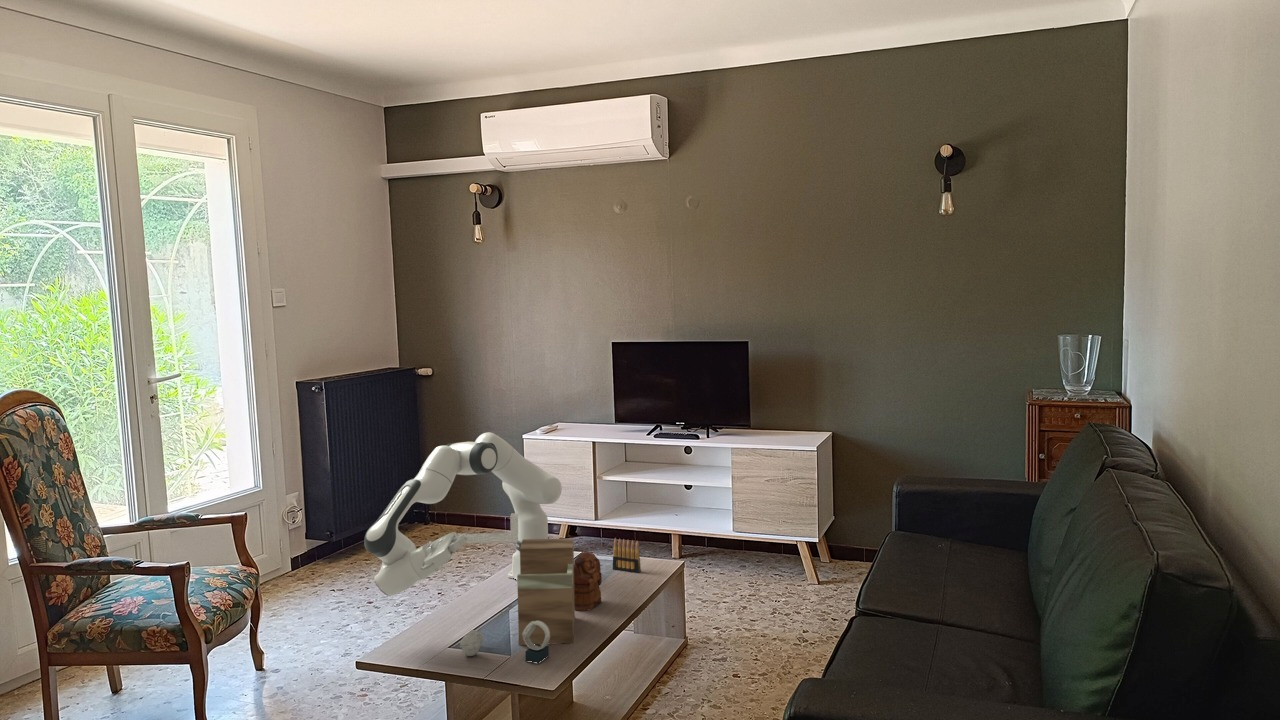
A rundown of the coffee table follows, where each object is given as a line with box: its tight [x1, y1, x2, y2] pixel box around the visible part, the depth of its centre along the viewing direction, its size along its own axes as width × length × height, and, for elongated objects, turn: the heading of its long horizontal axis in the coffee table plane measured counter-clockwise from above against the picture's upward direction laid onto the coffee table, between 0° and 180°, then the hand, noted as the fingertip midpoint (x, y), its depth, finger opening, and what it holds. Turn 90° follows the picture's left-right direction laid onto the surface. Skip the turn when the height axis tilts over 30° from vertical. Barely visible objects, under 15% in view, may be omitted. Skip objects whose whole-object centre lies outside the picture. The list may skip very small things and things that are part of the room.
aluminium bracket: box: [456, 512, 518, 544], centre depth 262 cm, size 3×18×8 cm, turn 93°
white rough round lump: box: [459, 629, 484, 657], centre depth 254 cm, size 6×7×7 cm
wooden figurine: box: [574, 551, 603, 611], centre depth 291 cm, size 12×6×18 cm, turn 148°
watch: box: [522, 620, 550, 663], centre depth 250 cm, size 6×8×11 cm
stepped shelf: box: [516, 537, 576, 646], centre depth 270 cm, size 20×16×26 cm
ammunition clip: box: [612, 537, 642, 574], centre depth 325 cm, size 11×2×12 cm, turn 67°
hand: (466, 537), depth 262 cm, fingers closed on aluminium bracket, 3 cm apart
